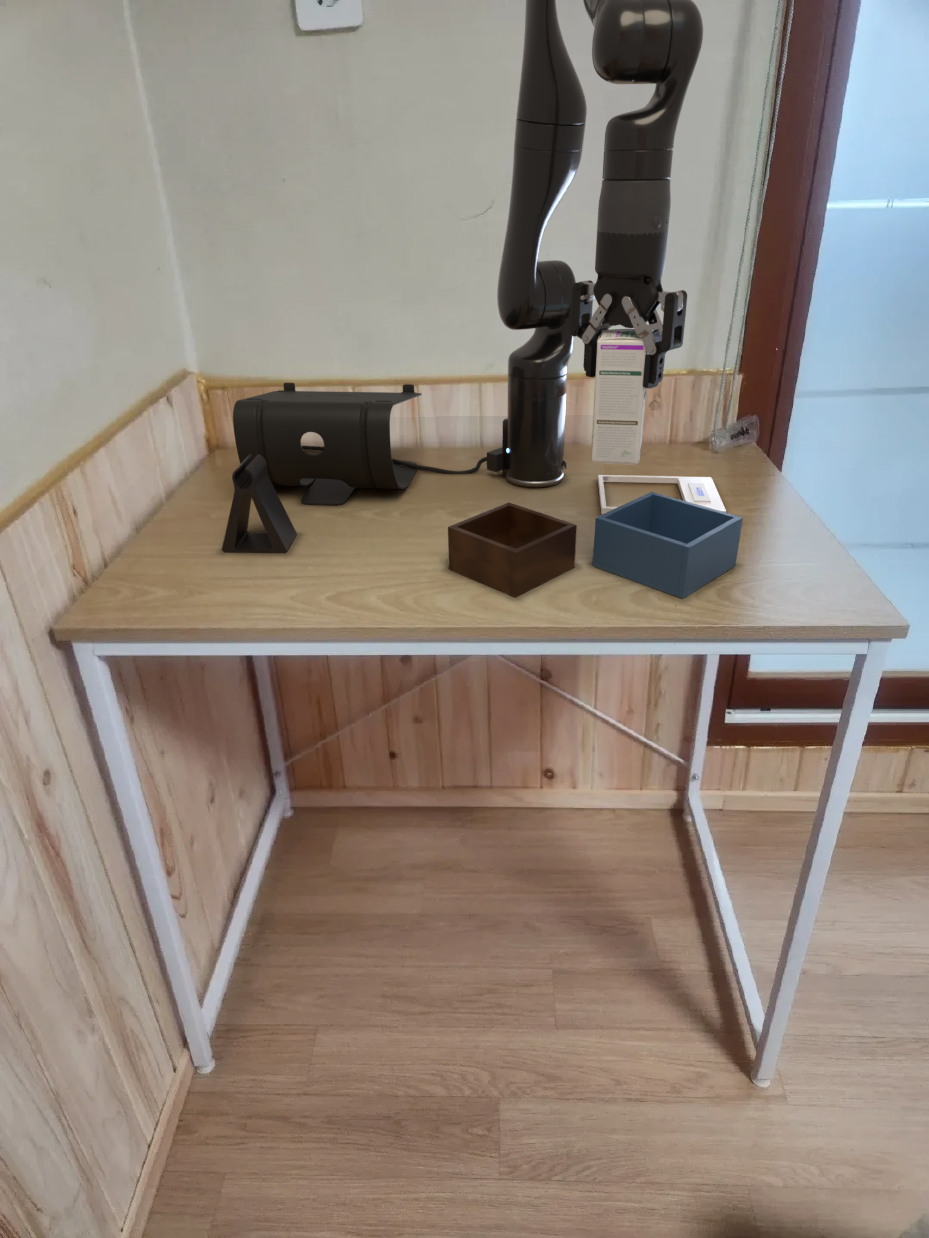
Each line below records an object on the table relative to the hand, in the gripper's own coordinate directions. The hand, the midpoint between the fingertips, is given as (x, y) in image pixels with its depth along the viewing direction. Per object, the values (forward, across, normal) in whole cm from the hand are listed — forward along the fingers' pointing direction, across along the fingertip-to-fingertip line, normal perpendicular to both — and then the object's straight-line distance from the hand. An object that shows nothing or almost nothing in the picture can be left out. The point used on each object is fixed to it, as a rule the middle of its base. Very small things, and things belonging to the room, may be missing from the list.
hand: (621, 381), depth 98 cm
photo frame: (+24, +9, -25) cm, 36 cm away
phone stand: (+24, +40, +27) cm, 54 cm away
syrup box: (+9, 0, 0) cm, 9 cm away
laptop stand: (+24, +52, +4) cm, 57 cm away
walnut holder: (+24, +9, +9) cm, 27 cm away
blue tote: (+24, -5, -5) cm, 25 cm away
